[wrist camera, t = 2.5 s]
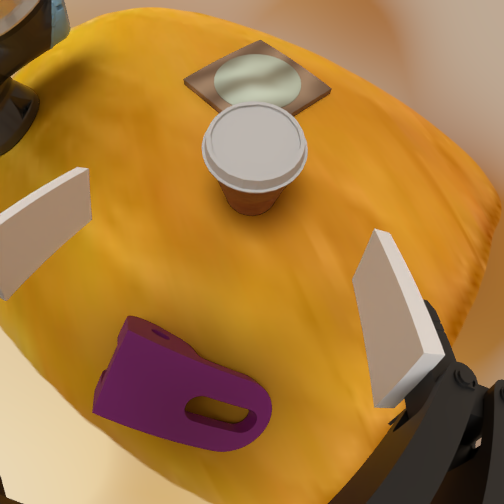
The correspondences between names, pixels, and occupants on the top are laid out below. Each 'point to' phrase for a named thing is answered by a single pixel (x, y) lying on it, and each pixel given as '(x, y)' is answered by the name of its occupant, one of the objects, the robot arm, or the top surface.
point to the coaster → (257, 80)
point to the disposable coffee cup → (254, 154)
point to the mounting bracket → (175, 391)
